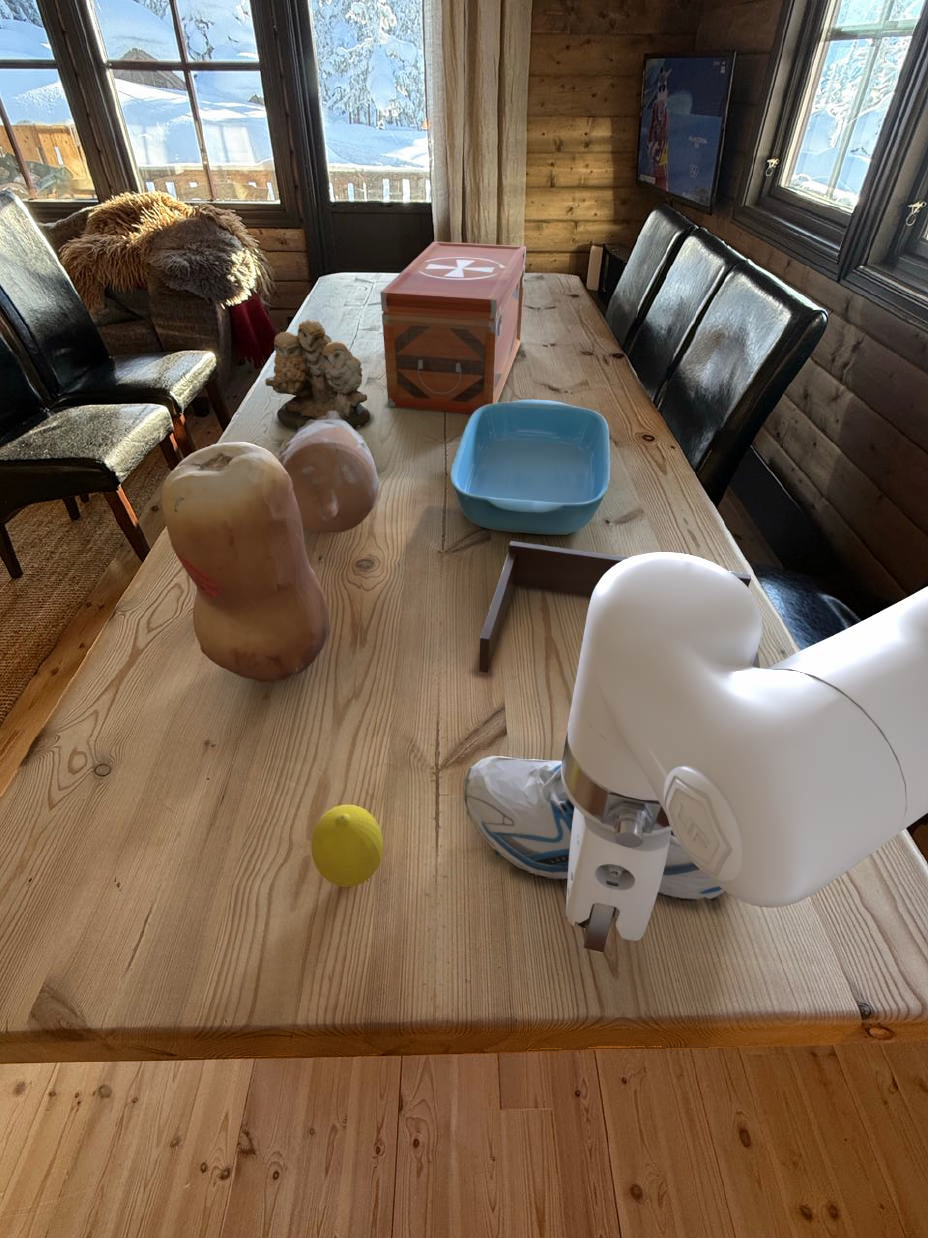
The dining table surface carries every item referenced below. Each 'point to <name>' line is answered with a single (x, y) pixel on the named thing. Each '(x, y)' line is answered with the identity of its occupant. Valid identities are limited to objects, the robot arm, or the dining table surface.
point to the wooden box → (453, 326)
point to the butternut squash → (246, 561)
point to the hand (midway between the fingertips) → (587, 914)
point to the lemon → (347, 845)
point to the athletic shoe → (551, 824)
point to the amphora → (331, 474)
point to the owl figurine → (316, 378)
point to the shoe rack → (547, 583)
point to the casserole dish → (532, 466)
